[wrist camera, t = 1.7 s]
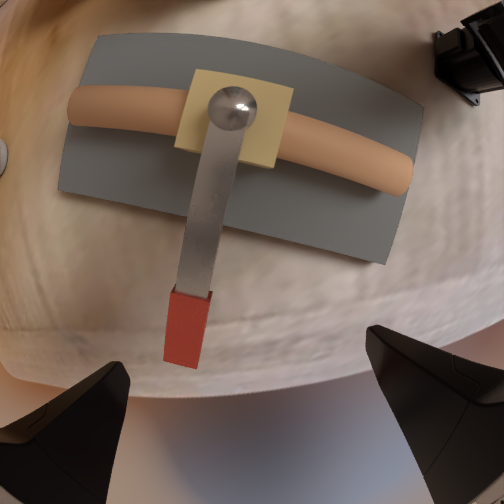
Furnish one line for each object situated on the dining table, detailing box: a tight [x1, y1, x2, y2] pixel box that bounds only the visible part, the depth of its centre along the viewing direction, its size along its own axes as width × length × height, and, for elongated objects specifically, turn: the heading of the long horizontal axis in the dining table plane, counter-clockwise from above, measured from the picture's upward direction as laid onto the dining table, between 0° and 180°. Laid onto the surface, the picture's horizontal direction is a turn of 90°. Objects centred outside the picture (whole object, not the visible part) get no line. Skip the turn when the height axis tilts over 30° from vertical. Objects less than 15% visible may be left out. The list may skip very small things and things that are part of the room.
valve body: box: [58, 33, 424, 265], centre depth 16 cm, size 28×14×6 cm, turn 76°
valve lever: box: [163, 86, 257, 369], centre depth 14 cm, size 16×2×1 cm, turn 166°
